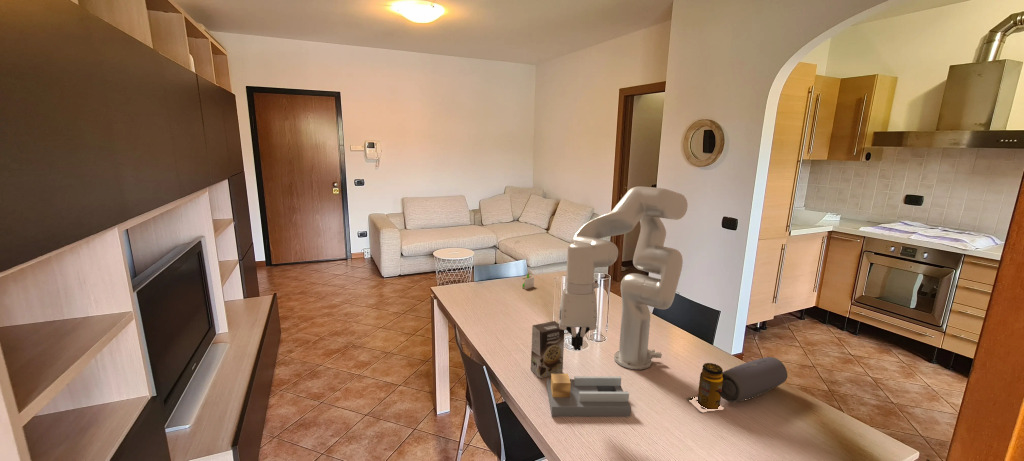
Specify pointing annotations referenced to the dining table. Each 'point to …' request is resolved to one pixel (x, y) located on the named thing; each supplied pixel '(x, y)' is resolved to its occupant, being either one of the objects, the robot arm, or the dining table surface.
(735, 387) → the bluetooth speaker
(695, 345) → the dining table surface
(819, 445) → the dining table surface
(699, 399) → the condiment
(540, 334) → the cookie box
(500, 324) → the dining table surface
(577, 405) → the trap channel
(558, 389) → the block
